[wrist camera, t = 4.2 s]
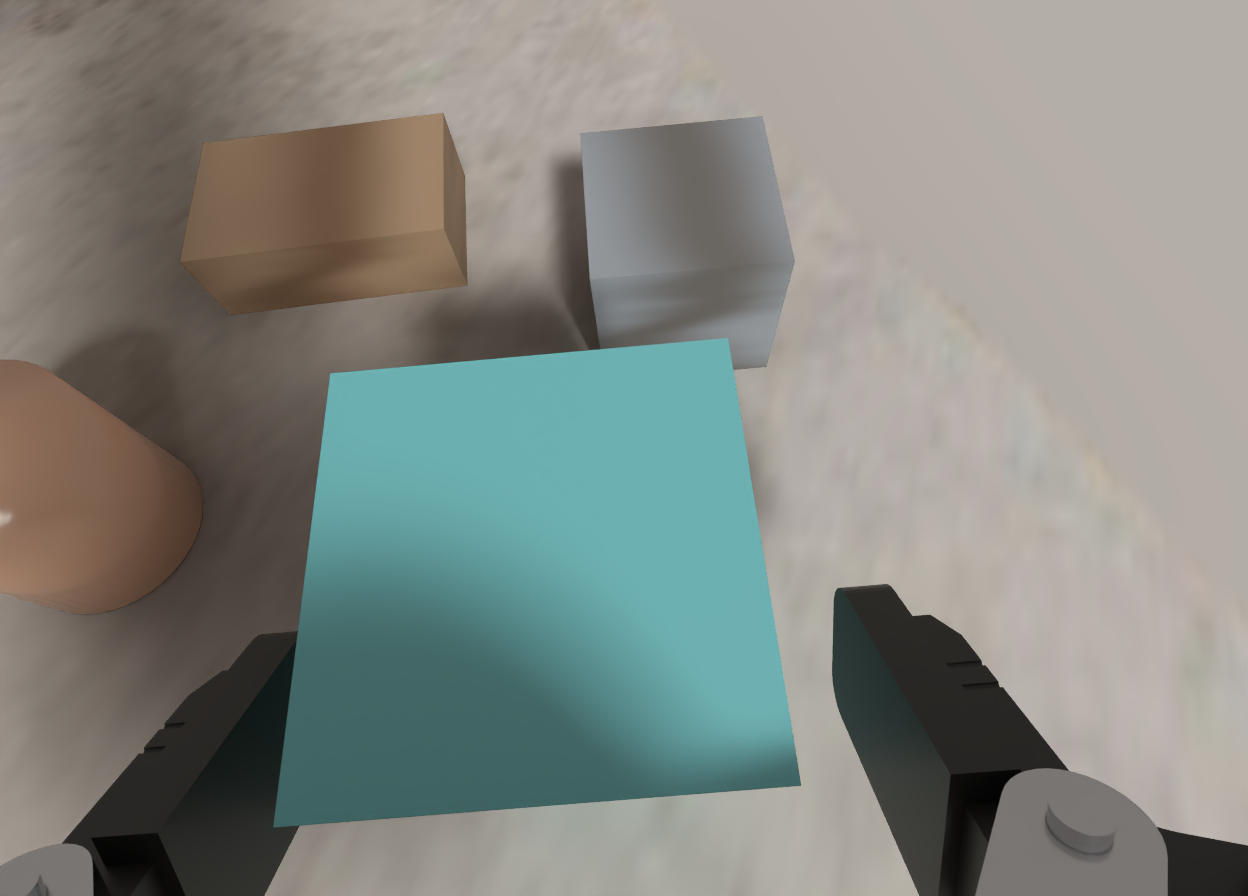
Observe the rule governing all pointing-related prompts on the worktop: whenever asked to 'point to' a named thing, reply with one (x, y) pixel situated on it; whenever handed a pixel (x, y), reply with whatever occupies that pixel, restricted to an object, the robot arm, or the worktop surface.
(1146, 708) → the worktop surface
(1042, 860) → the robot arm
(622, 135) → the slate cube
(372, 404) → the teal pillar
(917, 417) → the worktop surface
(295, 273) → the walnut slab
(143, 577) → the peach cylinder
